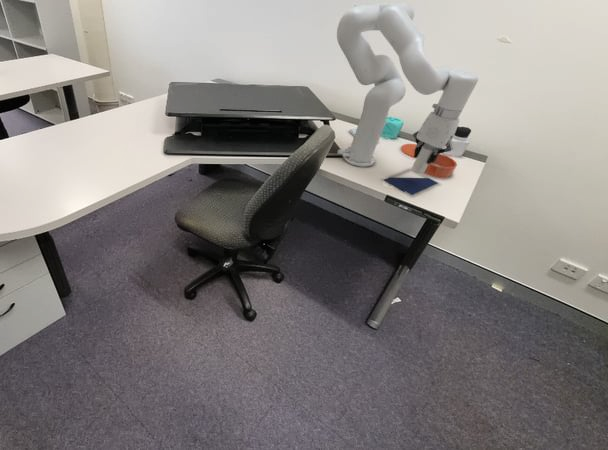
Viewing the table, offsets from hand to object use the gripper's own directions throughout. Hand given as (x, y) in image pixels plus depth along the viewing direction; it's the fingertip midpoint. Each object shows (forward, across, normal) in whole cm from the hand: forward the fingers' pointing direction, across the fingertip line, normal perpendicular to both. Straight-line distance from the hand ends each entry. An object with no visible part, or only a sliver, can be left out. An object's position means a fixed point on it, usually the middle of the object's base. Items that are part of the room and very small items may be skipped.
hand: (423, 159), depth 123 cm
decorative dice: (+10, -32, +27) cm, 43 cm away
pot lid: (+10, -14, +24) cm, 30 cm away
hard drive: (+10, -37, +15) cm, 41 cm away
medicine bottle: (+11, -7, +38) cm, 40 cm away
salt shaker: (+5, 0, 0) cm, 5 cm away
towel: (+10, 0, 0) cm, 10 cm away
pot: (+10, -1, +17) cm, 20 cm away
